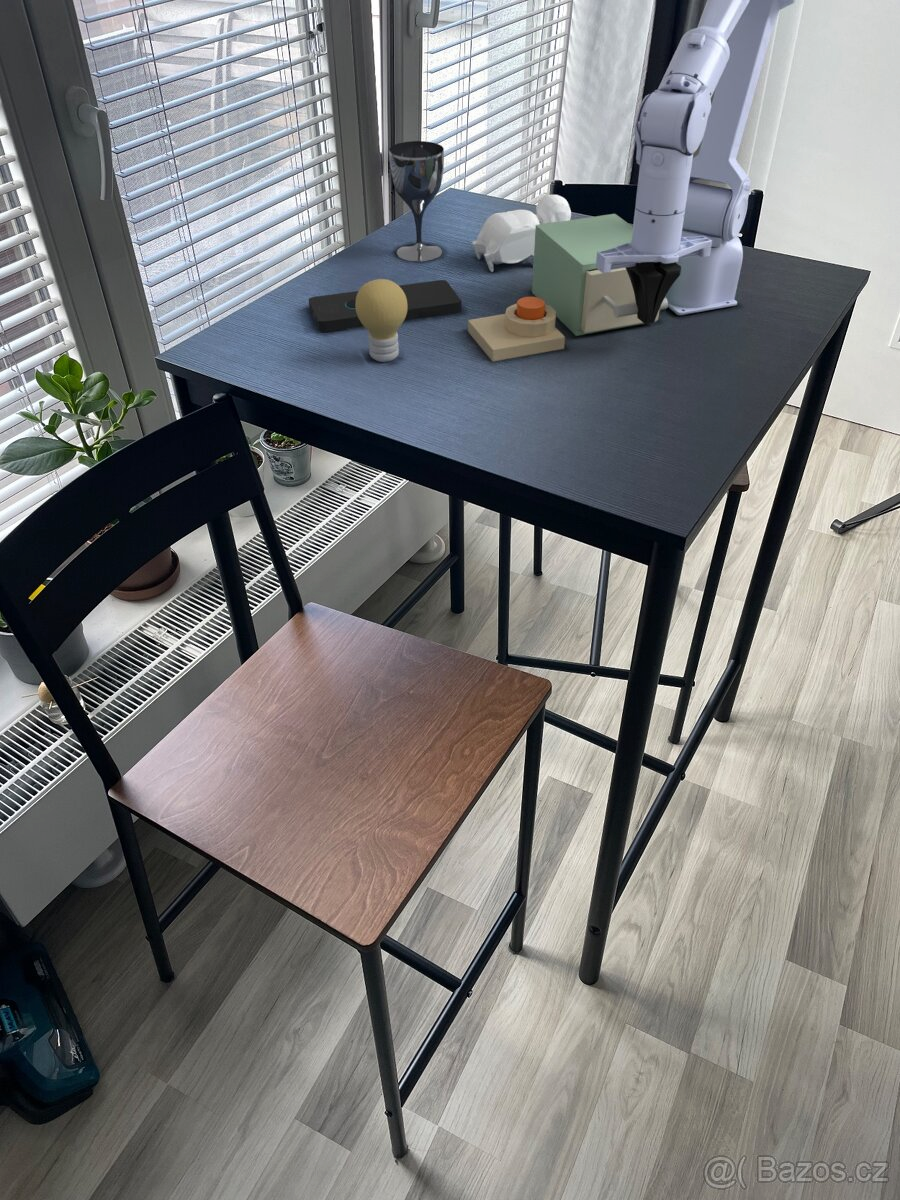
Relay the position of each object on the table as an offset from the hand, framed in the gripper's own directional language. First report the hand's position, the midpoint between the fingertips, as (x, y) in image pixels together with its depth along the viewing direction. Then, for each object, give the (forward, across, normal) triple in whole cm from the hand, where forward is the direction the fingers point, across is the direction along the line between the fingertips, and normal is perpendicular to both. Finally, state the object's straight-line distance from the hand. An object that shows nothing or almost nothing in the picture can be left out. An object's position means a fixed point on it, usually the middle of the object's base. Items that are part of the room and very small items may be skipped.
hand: (645, 320), depth 115 cm
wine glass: (+3, -16, +41) cm, 45 cm away
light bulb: (+4, -31, +10) cm, 33 cm away
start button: (+1, -12, +9) cm, 15 cm away
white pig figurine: (+3, -2, +33) cm, 33 cm away
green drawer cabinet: (+4, 0, +14) cm, 15 cm away
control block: (+4, -14, +9) cm, 17 cm away
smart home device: (+4, -27, +24) cm, 36 cm away
